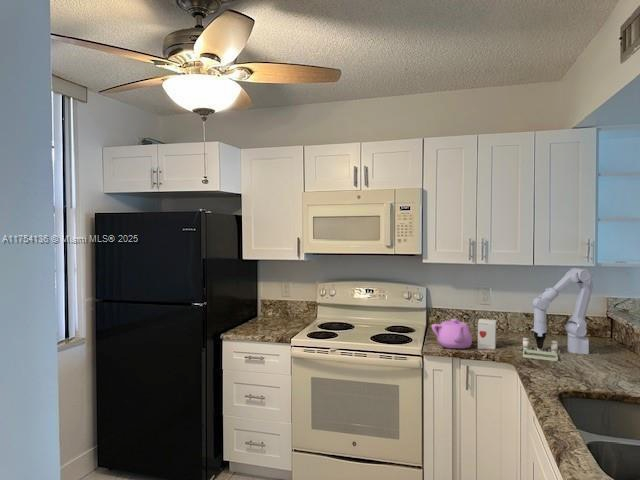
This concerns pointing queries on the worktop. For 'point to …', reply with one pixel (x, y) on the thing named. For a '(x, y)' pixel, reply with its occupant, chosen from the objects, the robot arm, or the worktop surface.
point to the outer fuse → (526, 343)
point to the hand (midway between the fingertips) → (539, 347)
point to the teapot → (453, 334)
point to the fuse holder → (543, 350)
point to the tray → (540, 356)
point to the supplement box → (486, 334)
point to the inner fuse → (554, 346)
